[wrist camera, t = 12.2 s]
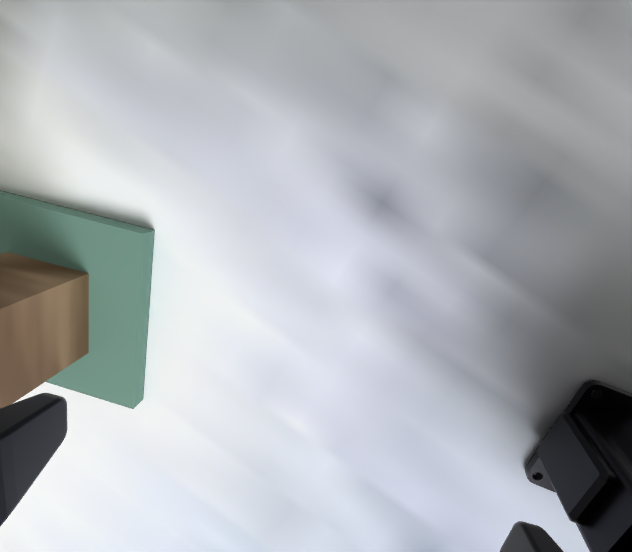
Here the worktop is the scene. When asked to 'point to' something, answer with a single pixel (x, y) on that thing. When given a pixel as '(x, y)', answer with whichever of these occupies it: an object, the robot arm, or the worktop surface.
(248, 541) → the worktop surface
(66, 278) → the walnut block
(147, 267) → the green mat
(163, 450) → the worktop surface
